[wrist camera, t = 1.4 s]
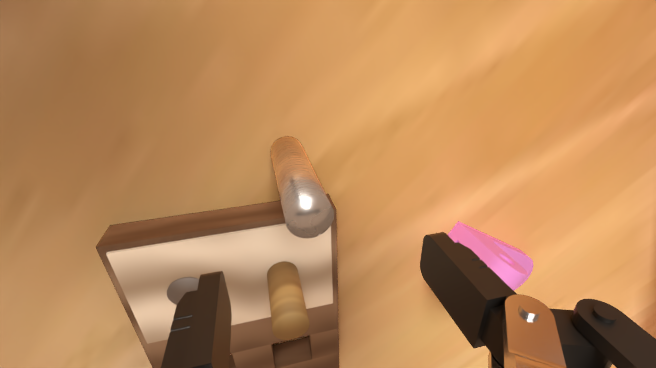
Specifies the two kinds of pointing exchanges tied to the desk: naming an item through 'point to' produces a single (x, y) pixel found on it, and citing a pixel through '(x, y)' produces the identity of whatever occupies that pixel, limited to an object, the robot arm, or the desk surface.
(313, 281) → the pin board
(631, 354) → the robot arm
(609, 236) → the desk surface
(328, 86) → the desk surface
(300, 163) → the grey metal pin
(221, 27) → the desk surface
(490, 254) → the bracket
